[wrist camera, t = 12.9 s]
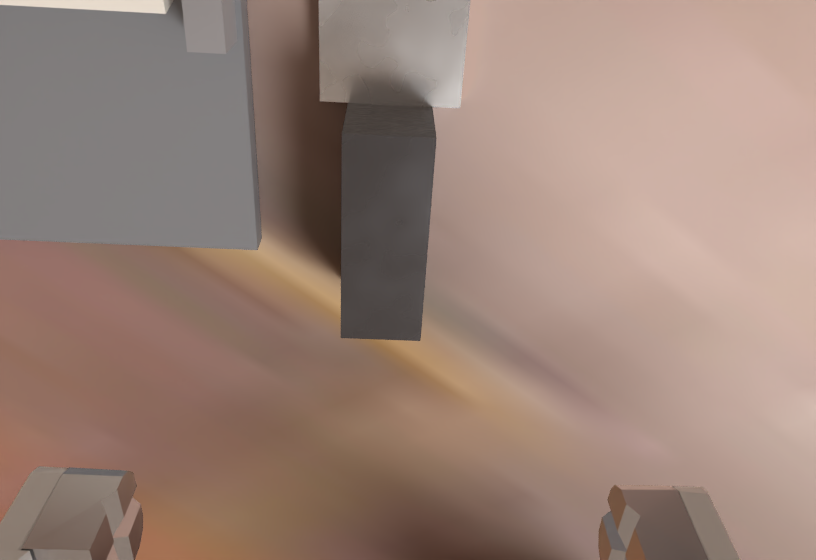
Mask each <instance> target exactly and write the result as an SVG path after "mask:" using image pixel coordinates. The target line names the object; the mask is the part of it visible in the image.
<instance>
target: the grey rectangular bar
mask: <svg viewBox="0 0 816 560" xmlns="http://www.w3.org/2000/svg"><path fill="white" fill-rule="evenodd" d="M469 10H470V0H319V72H320V101H325V102H345V103H348V105H347V110H346V115H345V120H344V125H343V130H342V183H341V338H358V339H385V340H411V341H420V338H421V326H422V313H423V300H424V288H425V275H426V263H427V250H428V237H429V225H430V212H431V199H432V187H433V174H434V162H435V149H436V132H435V124H434V117H433V109H432V107H444V108H460V104H461V94H462V83H463V73H464V62H465V52H466V41H467V31H468V20H469Z"/></svg>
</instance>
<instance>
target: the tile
mask: <svg viewBox="0 0 816 560" xmlns="http://www.w3.org/2000/svg"><path fill="white" fill-rule="evenodd" d="M172 2H173V0H0V5H13V6H31V7H49V8H68V9H86V10H104V11H122V12H141V13H159V14H166V13H167V11H168V9H169V7H170V5H171V4H172Z"/></svg>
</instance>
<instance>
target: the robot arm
mask: <svg viewBox="0 0 816 560" xmlns="http://www.w3.org/2000/svg"><path fill="white" fill-rule="evenodd" d="M136 487H137V485H136V481H135V477H134V473H133V472H131V471H122V470H104V469H86V468H61V467H41V466H39V467H38V468H36V469H35V470H34V471H33V472H31V473H30V474H29V476H28V478H27V479H26V481H25V483H24V484H23V486H22V488H21V489H20V491H19V493H18V494H17V496H16V498H15V499H14V501H13V503H12V504H11V506H10V508H9V509H8V511H7V513H6V514H5V516H4V518H3V519H2V521H1V522H0V560H135V558H136V555H137V552H138V549H139V547H140V542H141V536H142V531H143V513H142V508H141V504H140V503H139V502H138V501H136V500H135V499H134V498H133V494H134V492H135V489H136ZM608 503H609V506H610V509H611V511H610V512H609V513H607V514H606V515H605V516H603V517H602V520H601V524H600V528H599V543H598V547H599V554H600V560H741V559H740V557H739V555H738V553H737V551H736V549H735V547H734V545H733V543H732V541H731V538H730V536H729V534H728V532H727V530H726V528H725V526H724V524H723V522H722V520H721V518H720V516H719V514H718V512H717V510H716V508H715V506H714V504H713V502H712V500H711V498H710V496H709V494H708V492H707V491H706V490H705V489H704V488H703V487H688V486H672V487H671V486H658V485H614V486H613V488H612V489H611V490H610V494H609V497H608Z"/></svg>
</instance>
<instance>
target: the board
mask: <svg viewBox="0 0 816 560" xmlns="http://www.w3.org/2000/svg"><path fill="white" fill-rule="evenodd" d="M0 239H5V240H29V241H53V242H77V243H101V244H125V245H149V246H173V247H197V248H220V249H244V250H258V247H259V245H260V242H261V239H262V234H261V218H260V202H259V186H258V170H257V154H256V139H255V123H254V107H253V91H252V75H251V59H250V44H249V28H248V12H247V0H173V2H172V4H171V5H170V7H169V9H168V11H167V13H166V14H159V13H141V12H122V11H104V10H86V9H68V8H49V7H31V6H13V5H0Z"/></svg>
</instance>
